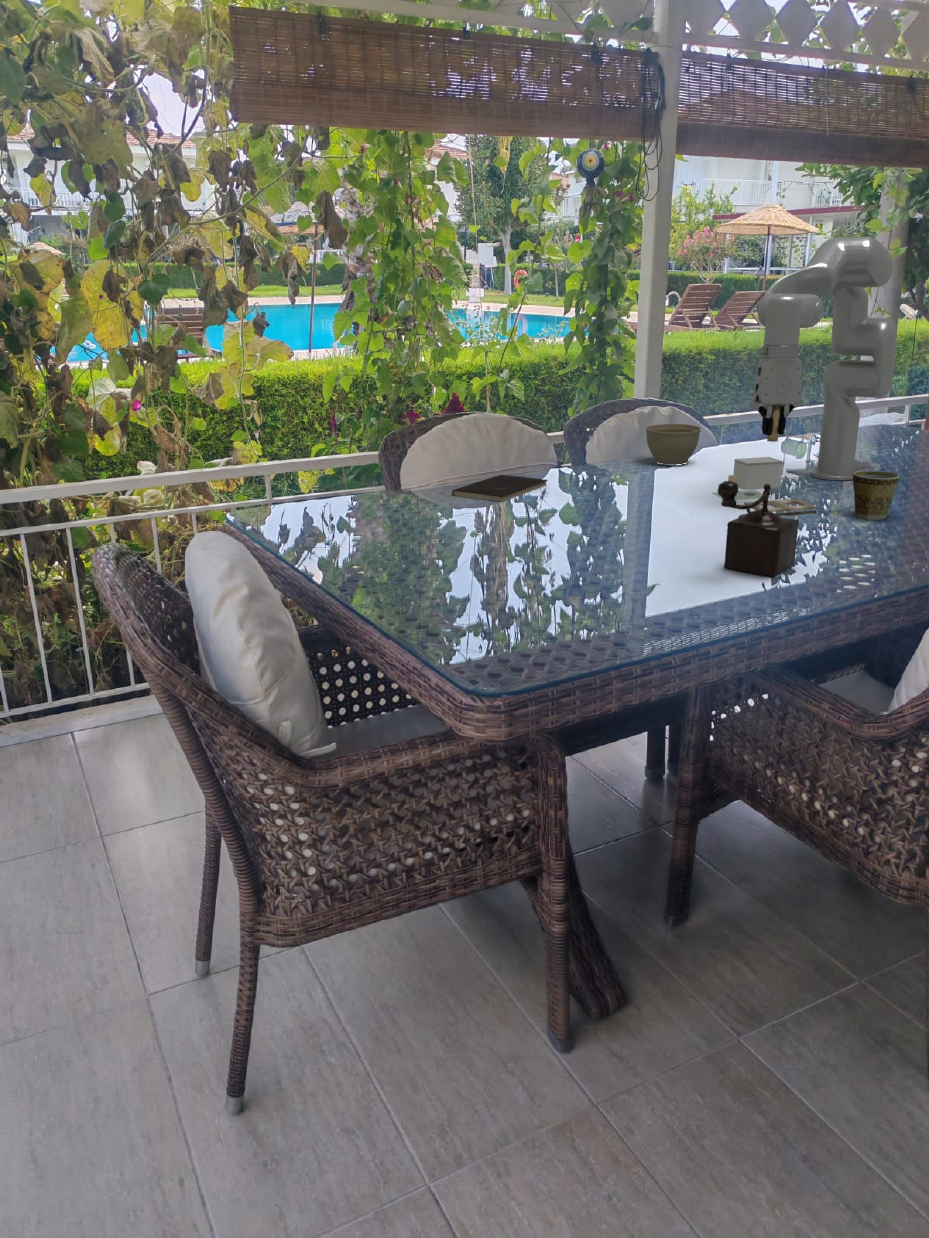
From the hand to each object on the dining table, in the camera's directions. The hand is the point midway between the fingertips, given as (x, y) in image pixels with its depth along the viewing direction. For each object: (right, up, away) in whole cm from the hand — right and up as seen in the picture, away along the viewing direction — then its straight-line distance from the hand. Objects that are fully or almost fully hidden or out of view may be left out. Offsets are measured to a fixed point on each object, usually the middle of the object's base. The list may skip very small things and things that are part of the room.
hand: (773, 433), depth 220 cm
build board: (+4, -17, +7) cm, 19 cm away
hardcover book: (-62, -9, +36) cm, 73 cm away
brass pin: (0, -2, +1) cm, 2 cm away
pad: (-2, -13, +19) cm, 23 cm away
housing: (+5, -9, +29) cm, 31 cm away
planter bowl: (-9, +4, +67) cm, 68 cm away
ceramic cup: (+23, -19, +2) cm, 30 cm away
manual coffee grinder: (-16, -34, -37) cm, 53 cm away
